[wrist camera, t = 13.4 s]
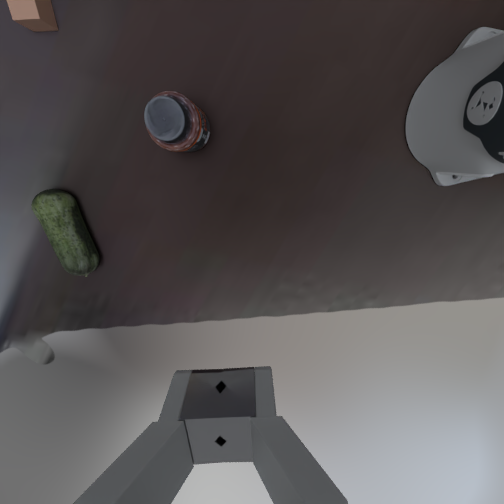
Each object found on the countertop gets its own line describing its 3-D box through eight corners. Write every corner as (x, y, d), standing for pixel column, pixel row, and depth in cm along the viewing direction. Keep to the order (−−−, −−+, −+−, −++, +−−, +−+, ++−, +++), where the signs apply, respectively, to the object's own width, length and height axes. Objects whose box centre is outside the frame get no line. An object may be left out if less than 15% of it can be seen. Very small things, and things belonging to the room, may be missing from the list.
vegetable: (42, 190, 38) (14, 196, 34) (75, 184, 38) (50, 188, 33) (82, 272, 43) (62, 286, 39) (111, 266, 43) (94, 280, 38)
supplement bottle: (220, 131, 35) (208, 123, 25) (190, 161, 37) (166, 165, 26) (189, 93, 34) (162, 68, 23) (159, 126, 35) (120, 115, 24)
